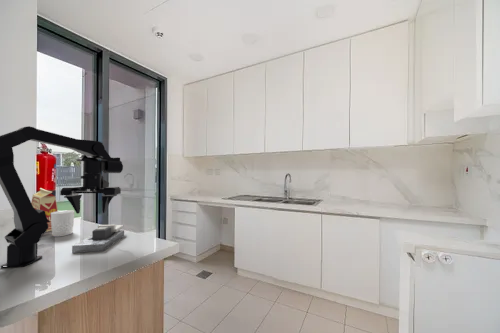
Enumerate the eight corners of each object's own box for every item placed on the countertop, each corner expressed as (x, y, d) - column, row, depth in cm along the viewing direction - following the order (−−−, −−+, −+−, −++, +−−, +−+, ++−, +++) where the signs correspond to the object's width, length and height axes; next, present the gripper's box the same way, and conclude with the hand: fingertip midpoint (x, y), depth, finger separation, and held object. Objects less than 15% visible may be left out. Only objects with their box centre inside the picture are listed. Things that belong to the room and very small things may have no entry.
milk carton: (24, 232, 95) (25, 188, 95) (48, 227, 104) (49, 187, 104) (37, 234, 92) (38, 189, 92) (61, 228, 101) (62, 187, 101)
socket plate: (103, 251, 73) (103, 244, 74) (72, 252, 72) (72, 245, 72) (124, 235, 90) (124, 230, 90) (98, 237, 88) (98, 231, 88)
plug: (105, 243, 80) (105, 229, 80) (92, 244, 79) (92, 229, 79) (110, 239, 84) (111, 226, 84) (98, 240, 83) (98, 226, 83)
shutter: (114, 233, 85) (115, 225, 85) (96, 233, 84) (96, 226, 84) (123, 227, 93) (123, 220, 93) (106, 228, 92) (106, 221, 92)
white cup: (78, 231, 96) (79, 210, 96) (61, 237, 88) (62, 213, 88) (63, 231, 96) (63, 209, 97) (45, 236, 89) (45, 213, 89)
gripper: (127, 173, 90) (126, 209, 90) (79, 172, 88) (78, 209, 87) (114, 173, 79) (113, 214, 79) (59, 173, 77) (58, 215, 76)
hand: (91, 213), depth 81 cm, fingers open, 9 cm apart
